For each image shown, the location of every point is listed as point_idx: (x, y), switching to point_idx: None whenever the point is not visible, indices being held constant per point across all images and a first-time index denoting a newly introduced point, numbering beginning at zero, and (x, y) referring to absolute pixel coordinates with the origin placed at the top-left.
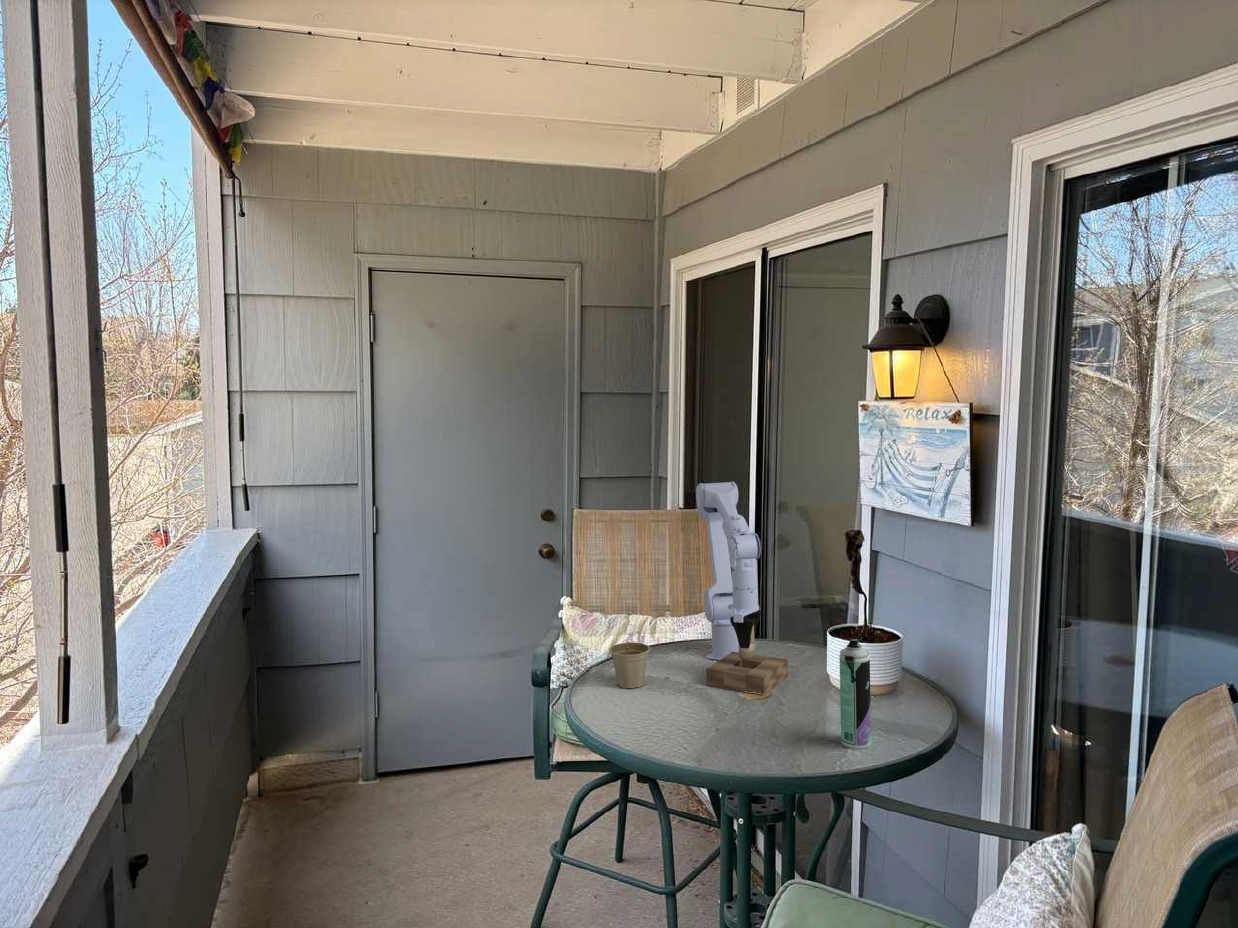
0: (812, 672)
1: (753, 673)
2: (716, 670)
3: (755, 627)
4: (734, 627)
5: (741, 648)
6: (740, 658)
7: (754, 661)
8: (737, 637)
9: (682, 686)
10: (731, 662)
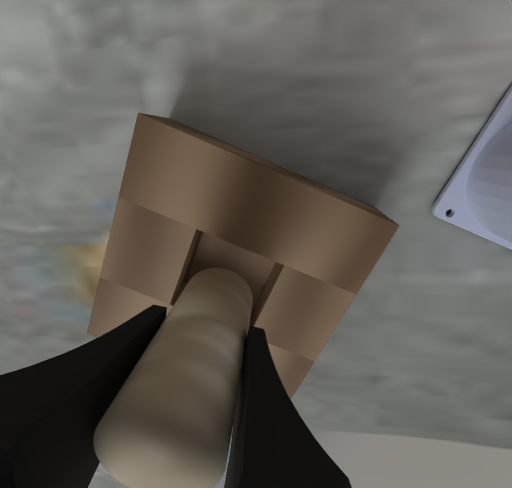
0: (318, 418)
1: (124, 304)
2: (126, 164)
3: (229, 459)
4: (21, 374)
5: (174, 305)
6: (194, 275)
7: (262, 310)
8: (109, 331)
9: (144, 8)
10: (238, 224)
